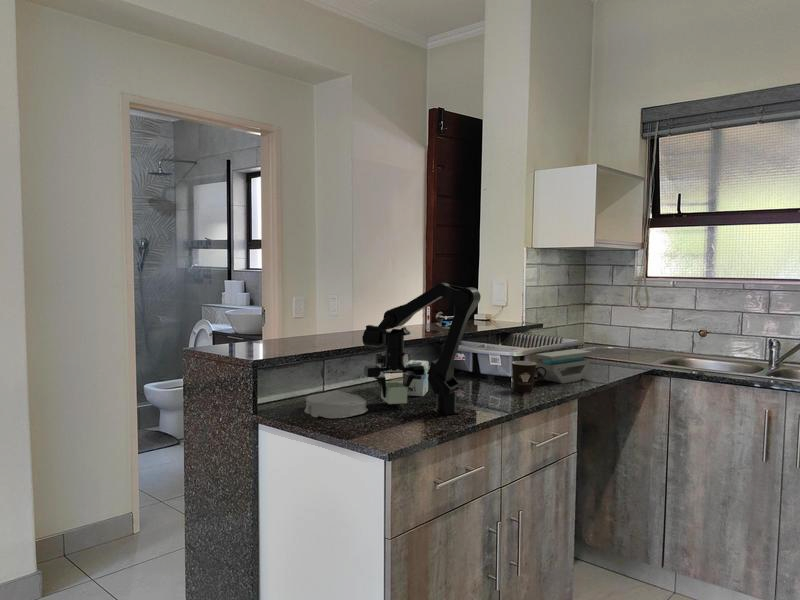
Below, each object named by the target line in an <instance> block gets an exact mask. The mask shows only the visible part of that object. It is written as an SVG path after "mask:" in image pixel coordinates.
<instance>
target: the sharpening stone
mask: <svg viewBox="0 0 800 600" xmlns="http://www.w3.org/2000/svg"><path fill="white" fill-rule="evenodd" d="M592 353H593V351H591V350H585V349H577V348H573V349H566V350H565V349H564V350H559V351H557V350H556V351H550V352H542V353H541V352H540V353H536V354H535V355H534V358H535V359H538V360H543V361H539V362H536V368H538V367H544V368H545V369H546V375H545V376H544V377H543V378H544V380H545V381H549V382H553V383H559V384H567V383H571V382H578V381H581V380H582V378H583V377H584V376H585V374H586V372H587V370H588V368H589V367H590V363H591V359H586V358H584V357H589V356H593V355H592ZM559 369H562V370H559ZM563 369H564V370H563ZM537 371H538V372H539V373H540V374H541V375H542V376H543V375H544V374H545V370H544V369H542V368H540V369H538V370H537ZM542 376H541V377H542Z"/></svg>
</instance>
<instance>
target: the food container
mask: <svg viewBox="0 0 800 600" xmlns="http://www.w3.org/2000/svg"><path fill="white" fill-rule="evenodd" d="M305 401H306V405H305V406H306V407H305V408H304V413H305V414H307V415H310V416H312V417H314V418H318V417H321V418H322V417H323V418H325V419H345V418H348V417H349V418H350V417H355V416H358V415H362V414H364V413H366V412H368V411H369V409H368V408H367V404H368V401H367V400H366V399H365V398H362V396H360V395H357V394H352V393H349V392H345V391H341V390H339V389H337V390H331V391H327V392H323V393H320V392H319V393H315V394H310V395H308V396H307V397H305Z"/></svg>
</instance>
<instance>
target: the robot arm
mask: <svg viewBox="0 0 800 600" xmlns="http://www.w3.org/2000/svg"><path fill="white" fill-rule="evenodd" d="M442 298H445V299H447V300H449V301H453V311H454V314H453V317H452V320H451V323H450V326H449V329H448V332H447V335H446V338H445V341H444V344H443V347H442V349H441V353H440V356H439V358H438V359H436V360H432V361H431V362H430V364H429V368H428V373H427V374H428V384H429V385H430V386H431V388H432V391H433V395H436V407H433V408H432V411H433V412H435V413H436V414H438V415H440V416H444V415H459V414H460V411H459V410H456V392H457V391H459V388H460V386H461V384H460V383H459V381H458V380H457V379H456V378H455V376H454V373H455V359H456V356H457V353H458V350H459V348H460V344H461V341H462V338H463V335H464V333H465V329H466V327H467V324H468V321H469V319H470V317H471V315H472V314H473V313H474V312H475V310H476V308H477V307H478V305H479V303H480V301H481V298H482V297H481V293H480V292H479V290H478V288H475V287H461V286H456V285H452V284H449V283H447V282H439V283H437V284H435V285H434V286H433V287H431V288H430V289H428V290H426V291H425V292H423V293H422V294H419V295H418V296H417V297H415V298H413V299H412V300H410V301H408V302H407V303H405V304H402V305H398V306H395V307H393V308H390V309H387V310H386V311H385V312H384V314H383V317H382V318H383V319H382V320H381V322H380V323H379V324H378V325H374V324H368V325H366V326H365V330H364V332H363V335H362V343H363V345H364V346H366V347H375V348H382V347H384V345H385V350H384V355H383V353H376V354H375V364H373V365H371V364H370V365H365V366H364V368H363V375H364V376H366V377H367V378H373V379H375V380H376V381H377V383H378V385H379V389H380V392H381V391H382V395H383V397H384V398H385V396H386V379H387V378H386V377H385V375H386V374H402V384H403V385H405V386H407V387H408V388H409V385H410V384H411V382H412V380H413V379H414V378H416V376H415V375H425V369H424V367H423V366H422V365H420V364H408V367H405V364H404V357H405V354H406V353H405V352H404V350H405V349H404V348H405V346H404V345H405V342H404V341H405V336H409V335H411V331H409V330H408V329H407V327H406V326H404V325H405V324H407V323H408V322H409V321H410V320H411V319H412V317H414V316H415V314H417V313H419V312H420V311H422V310H424V309H425V308H427V307H428V306H430V305H432V304H433V303H435V302H436V301H438V300H440V299H442ZM402 326H403V327H402ZM399 327H402V328H400V329H399ZM388 330H390V331H388ZM378 365H380V367H379V366H378ZM407 390H408V389H407Z"/></svg>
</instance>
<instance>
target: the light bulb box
mask: <svg viewBox="0 0 800 600" xmlns="http://www.w3.org/2000/svg"><path fill="white" fill-rule="evenodd" d="M408 364H420V365H422V366H423V367H424V369H425V375H415V376H416V378H414V379H413V380H412V382H411V384H410V385H409V388H408V390H407V396H411V397H412V396H414V397H424V396H425V395H426V393H427V392H428V391H429V381H428V375H429V374H427V373H428V372H429V361H428V360H417V359H410V360H409V361H408V362H407V363H405V364H404V367H408Z"/></svg>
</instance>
